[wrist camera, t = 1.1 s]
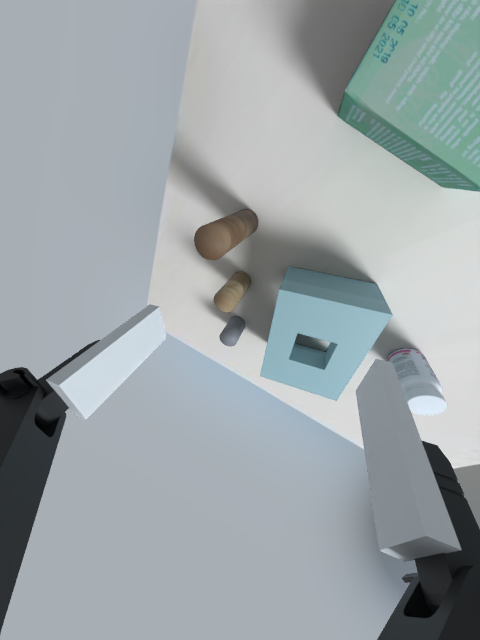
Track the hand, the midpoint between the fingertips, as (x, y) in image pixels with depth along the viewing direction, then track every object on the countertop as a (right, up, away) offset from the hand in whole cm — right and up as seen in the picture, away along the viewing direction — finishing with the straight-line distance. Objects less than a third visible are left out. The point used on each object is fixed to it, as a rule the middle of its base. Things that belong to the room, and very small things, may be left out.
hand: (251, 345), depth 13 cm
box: (+16, +21, +6) cm, 27 cm away
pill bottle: (+25, -4, +19) cm, 32 cm away
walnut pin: (0, +15, +16) cm, 22 cm away
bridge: (+11, +2, +21) cm, 24 cm away
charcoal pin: (-1, +1, +26) cm, 27 cm away
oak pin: (0, +8, +21) cm, 23 cm away
